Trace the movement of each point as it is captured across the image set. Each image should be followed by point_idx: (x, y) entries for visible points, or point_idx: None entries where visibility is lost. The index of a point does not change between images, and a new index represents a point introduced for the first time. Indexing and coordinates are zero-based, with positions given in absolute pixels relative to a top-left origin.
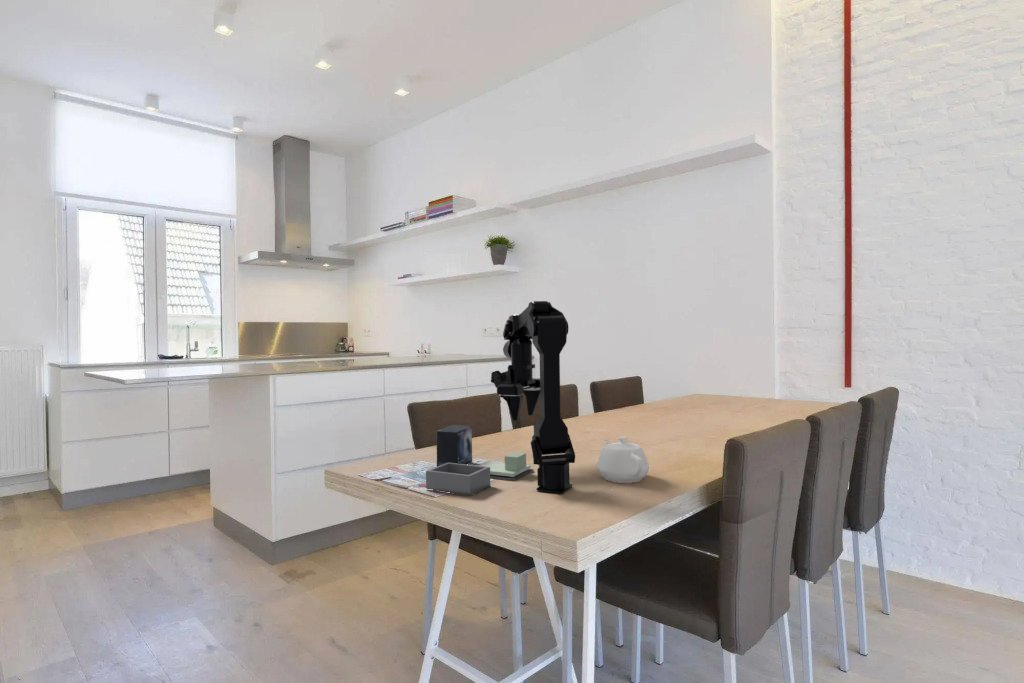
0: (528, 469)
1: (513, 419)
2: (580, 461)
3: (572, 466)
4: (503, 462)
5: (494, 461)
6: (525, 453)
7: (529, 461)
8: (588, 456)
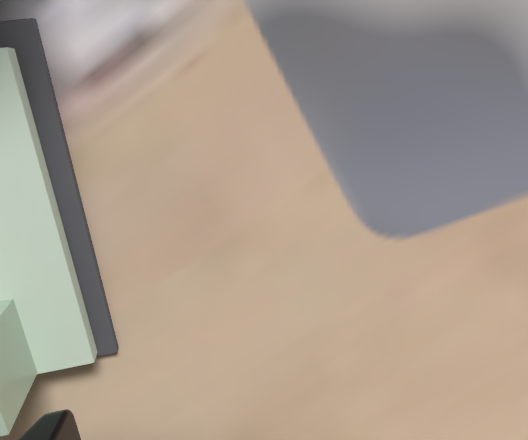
0: (94, 336)
1: (41, 427)
2: (412, 410)
3: (305, 436)
4: (36, 185)
5: (17, 107)
6: (3, 433)
7: (295, 201)
8: (520, 384)
